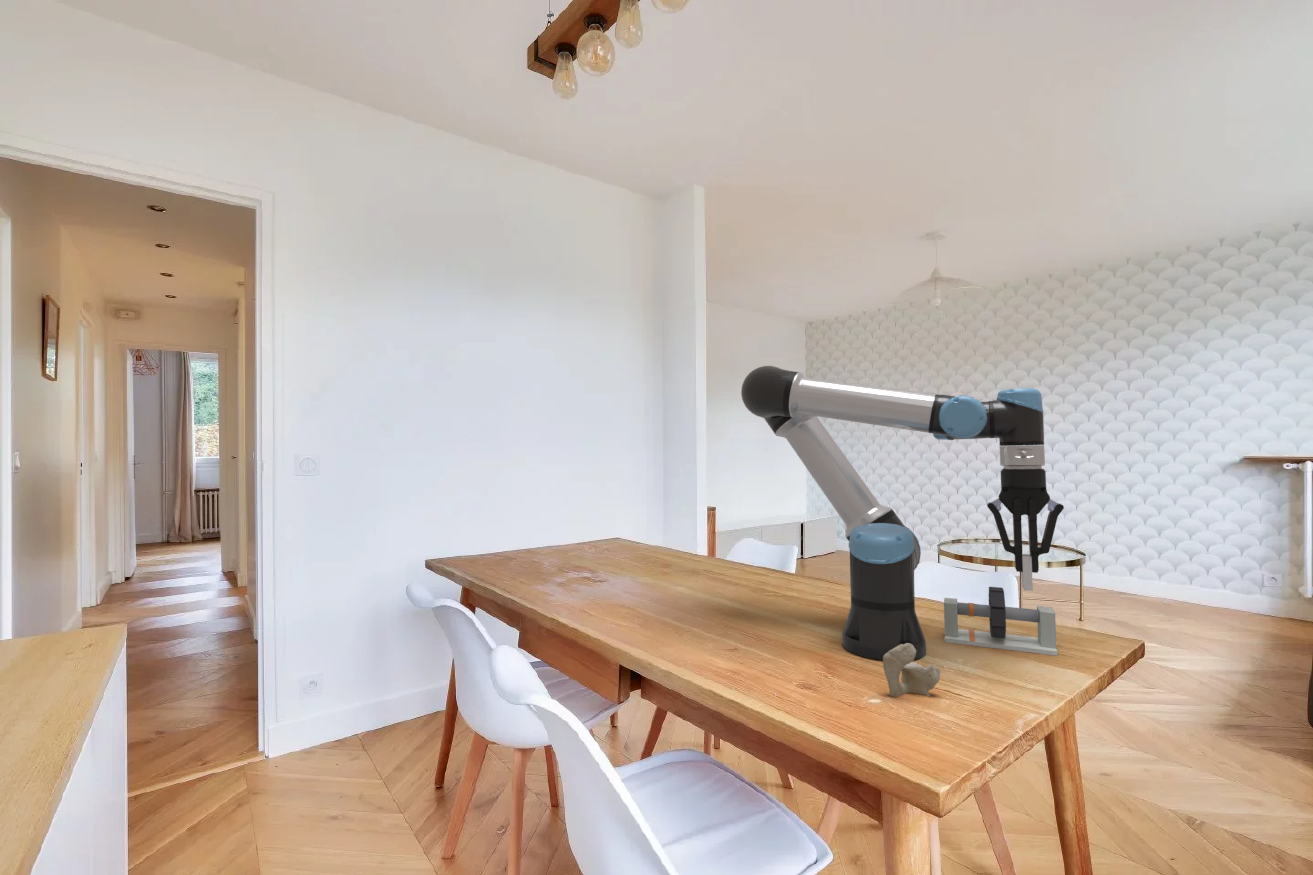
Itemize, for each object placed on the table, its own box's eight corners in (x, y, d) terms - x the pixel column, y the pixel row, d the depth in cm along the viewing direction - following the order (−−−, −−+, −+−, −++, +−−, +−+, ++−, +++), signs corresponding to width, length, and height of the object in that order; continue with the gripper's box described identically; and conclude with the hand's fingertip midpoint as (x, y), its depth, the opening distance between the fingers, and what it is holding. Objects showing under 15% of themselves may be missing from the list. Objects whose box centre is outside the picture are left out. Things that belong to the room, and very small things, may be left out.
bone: (929, 671, 98) (935, 628, 93) (943, 706, 92) (950, 662, 87) (876, 674, 99) (879, 631, 94) (887, 708, 93) (891, 665, 88)
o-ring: (991, 641, 113) (990, 593, 114) (989, 628, 122) (988, 583, 122) (1006, 643, 112) (1005, 594, 113) (1002, 629, 121) (1001, 584, 121)
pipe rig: (944, 642, 118) (943, 604, 118) (945, 631, 125) (944, 595, 125) (1057, 655, 109) (1056, 615, 109) (1051, 643, 116) (1050, 605, 116)
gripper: (985, 468, 115) (990, 590, 114) (1065, 467, 109) (1071, 596, 109) (983, 467, 122) (988, 582, 121) (1059, 466, 116) (1064, 587, 115)
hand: (1027, 588), depth 115 cm, fingers closed
